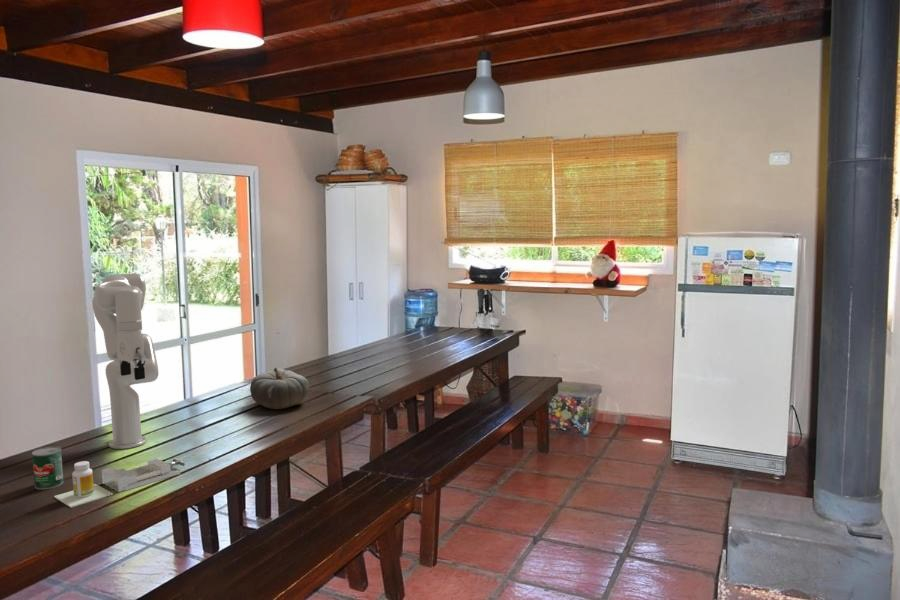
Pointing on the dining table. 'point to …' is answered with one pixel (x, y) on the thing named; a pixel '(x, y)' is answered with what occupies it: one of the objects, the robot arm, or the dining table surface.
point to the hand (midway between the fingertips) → (132, 377)
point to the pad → (73, 501)
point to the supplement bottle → (82, 480)
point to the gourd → (279, 389)
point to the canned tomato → (47, 468)
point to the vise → (138, 475)
